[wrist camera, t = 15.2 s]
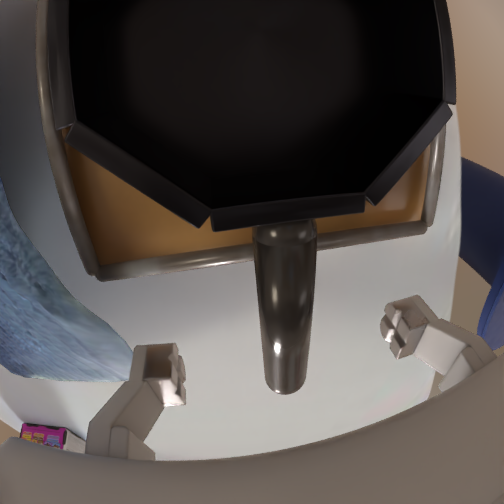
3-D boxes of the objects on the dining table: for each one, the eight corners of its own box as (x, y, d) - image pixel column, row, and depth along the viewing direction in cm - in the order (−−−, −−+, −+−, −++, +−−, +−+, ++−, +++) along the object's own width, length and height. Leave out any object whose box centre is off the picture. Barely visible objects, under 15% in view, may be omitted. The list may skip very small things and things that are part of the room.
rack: (367, -37, 7) (422, -64, 3) (379, 195, 14) (434, 236, 10) (87, -24, 6) (43, -59, 2) (119, 229, 13) (88, 289, 9)
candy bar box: (43, 436, 27) (33, 519, 13) (22, 421, 24) (8, 509, 10) (89, 442, 27) (84, 540, 13) (66, 427, 24) (56, 533, 10)
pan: (376, -54, 4) (421, -77, 2) (365, 332, 14) (388, 374, 11) (95, -49, 3) (63, -83, 1) (179, 366, 13) (178, 417, 11)
